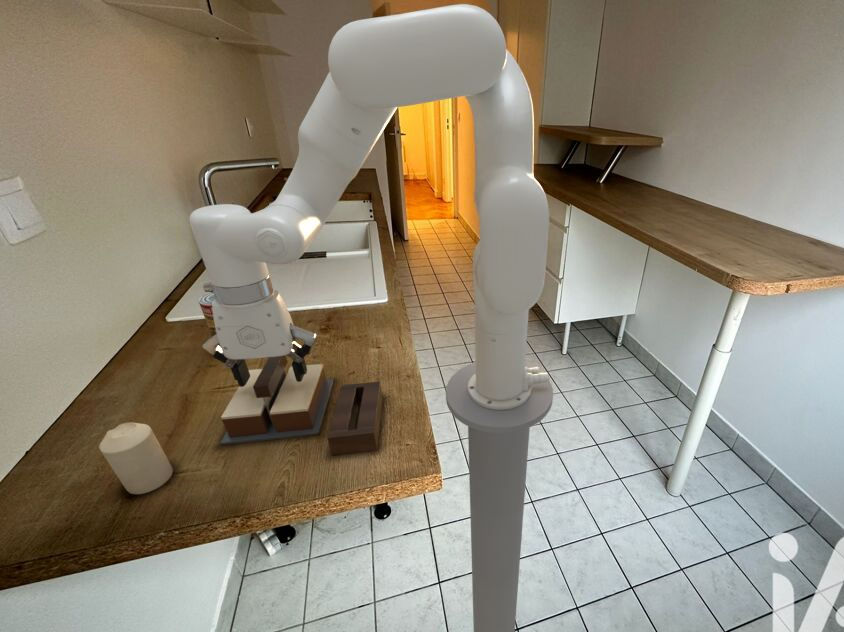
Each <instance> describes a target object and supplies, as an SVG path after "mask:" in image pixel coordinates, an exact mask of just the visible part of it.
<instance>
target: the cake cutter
mask: <svg viewBox="0 0 844 632" xmlns="http://www.w3.org/2000/svg"><path fill="white" fill-rule="evenodd" d="M287 364H288V358H287V355H285V356H278V357H267V360H266V362H265V364H264V365H263V367H262V368H261V369H262V371H261V373H260V375H259V376H258V378H257V380H256V382H255V384H254V386H253V389H254V391H255V394H256V397H257V398H263V400H264V402H265V405H266V408H267V411H268V414H269V417H270V420H271V423H272V426H273V427H275V426H274V423H273V420H272V418H271V415H270V411H271V409H272V406H273V404H274V402H275V400H276V397H277V395H278V393H279V391H280V389H281V386H282V384H283V382H284V380H285V378H286V375H287V373H286V371H285V369H286V366H287Z"/></svg>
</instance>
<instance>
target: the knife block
mask: <svg viewBox="0 0 844 632" xmlns="http://www.w3.org/2000/svg"><path fill="white" fill-rule="evenodd" d="M339 388H340V389H339V390H338V394H337V395H338V396H337V399H336V404H335V407H334V411H333V415H332V420H331V423H330V426H329V431H328V434H327V440H328V445H329V449H330V452H331V456H341V455H348V454H349V455H350V454H358V453H366V452H374V451H378V447H379V437H380V428H381V419H382V412H383V411H382V410H383V409H382V408H383V400H384V396H383V389H382V383H381V381H371V382H358V383H348V384H341V385H340V387H339ZM359 407H360V408H359ZM358 413H359V414H358ZM356 424H357V426H356Z"/></svg>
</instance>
